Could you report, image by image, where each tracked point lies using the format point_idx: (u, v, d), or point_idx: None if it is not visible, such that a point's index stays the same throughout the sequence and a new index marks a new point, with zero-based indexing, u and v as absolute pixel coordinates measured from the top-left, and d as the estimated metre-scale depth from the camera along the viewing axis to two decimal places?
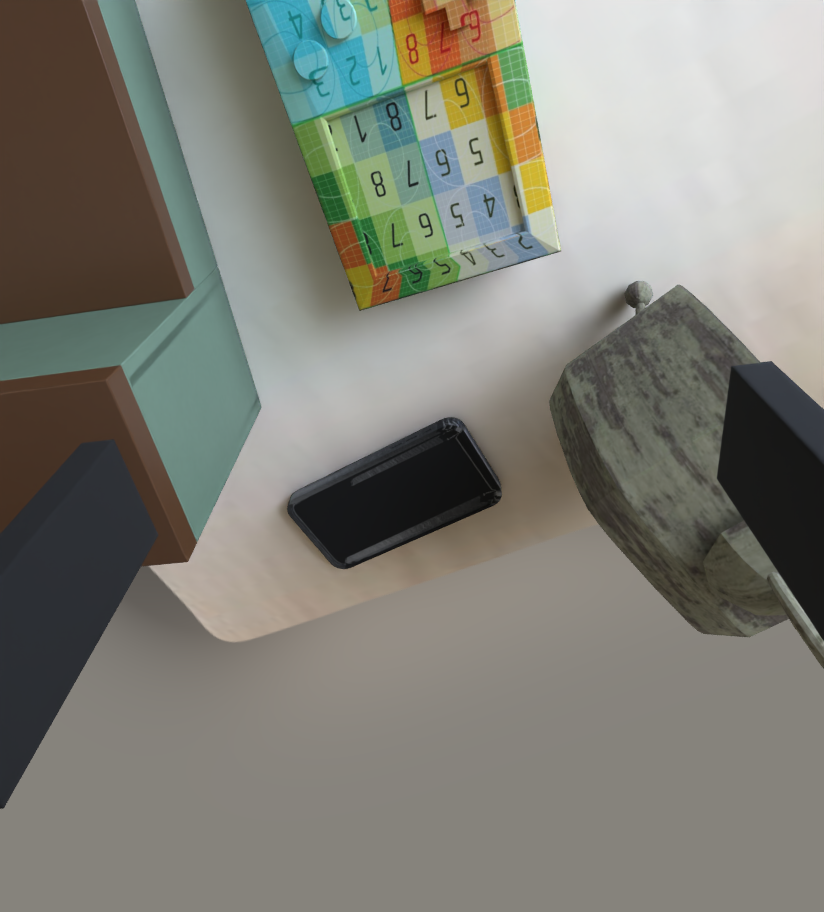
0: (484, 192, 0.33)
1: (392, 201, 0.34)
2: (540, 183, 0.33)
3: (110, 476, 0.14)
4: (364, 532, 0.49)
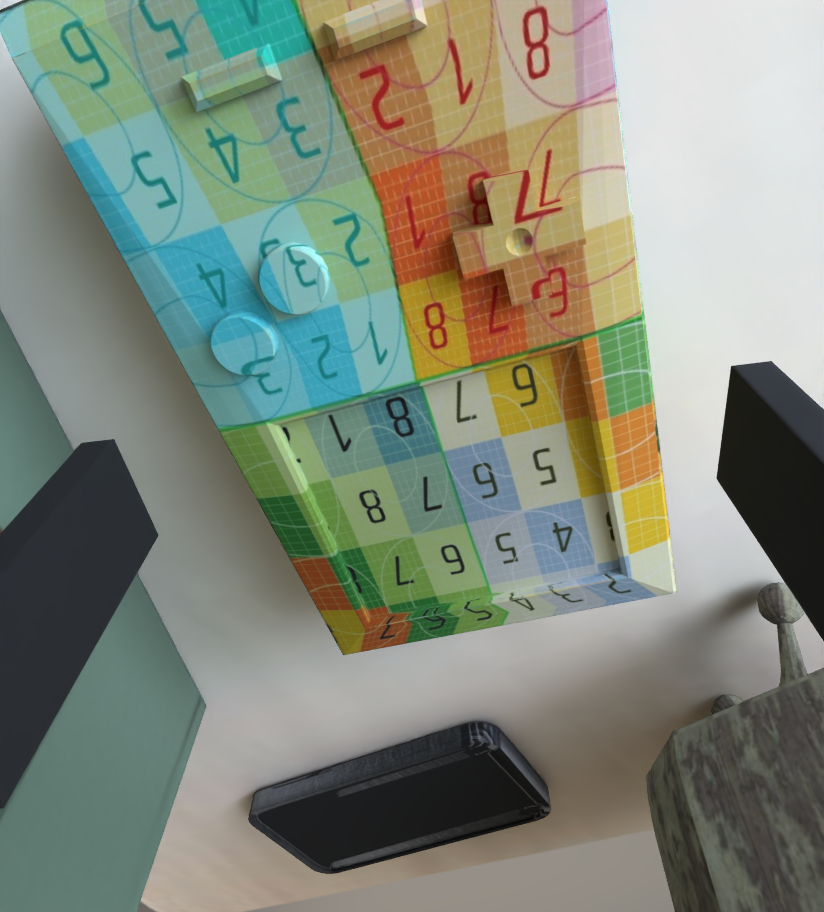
0: (555, 519, 0.19)
1: (396, 529, 0.20)
2: (654, 512, 0.19)
3: (110, 476, 0.14)
4: (357, 839, 0.35)
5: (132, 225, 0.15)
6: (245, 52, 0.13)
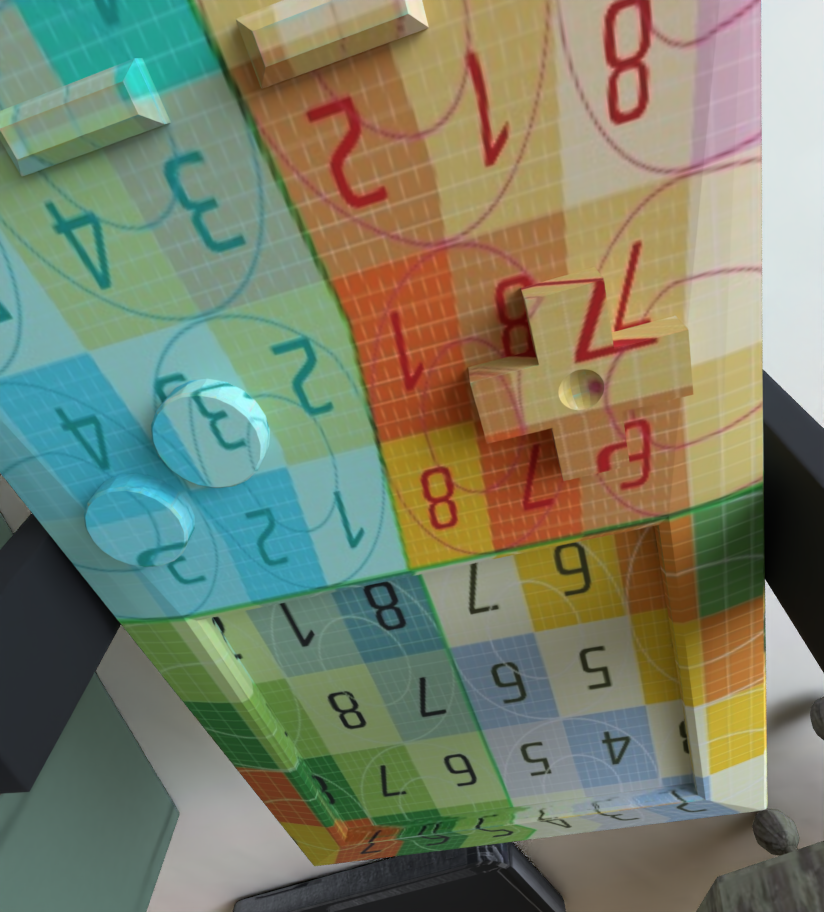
0: (606, 729, 0.14)
1: (382, 736, 0.14)
2: (749, 724, 0.13)
3: None
4: None
5: None
6: (97, 74, 0.07)
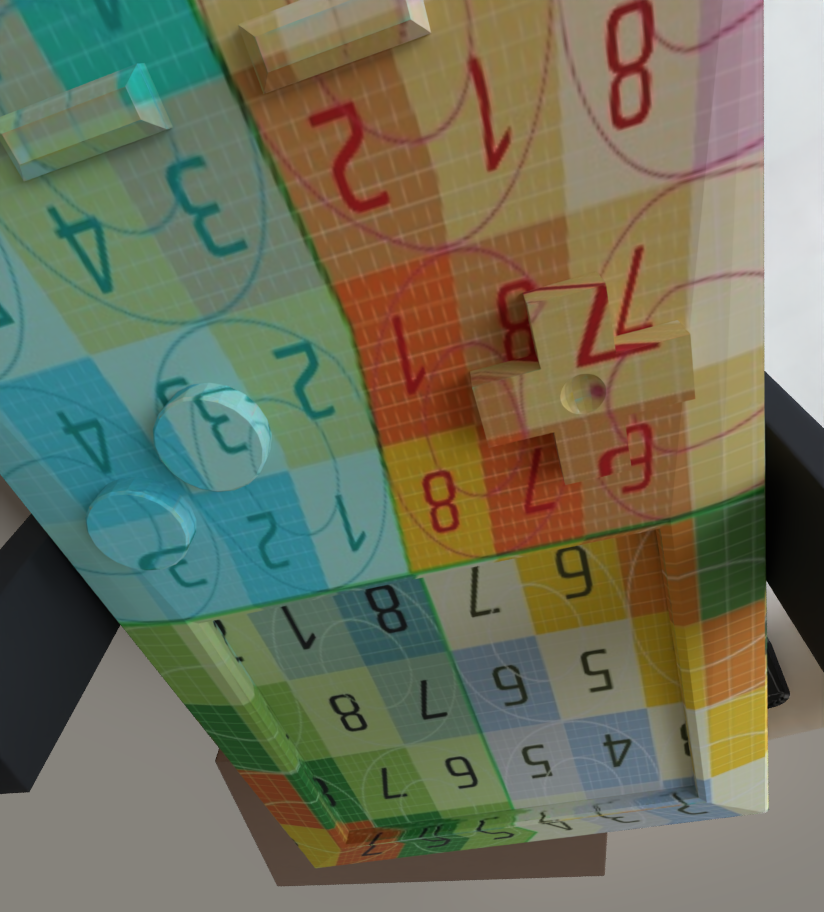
0: (608, 731, 0.14)
1: (383, 738, 0.14)
2: (751, 727, 0.13)
3: None
4: None
5: None
6: (99, 79, 0.07)
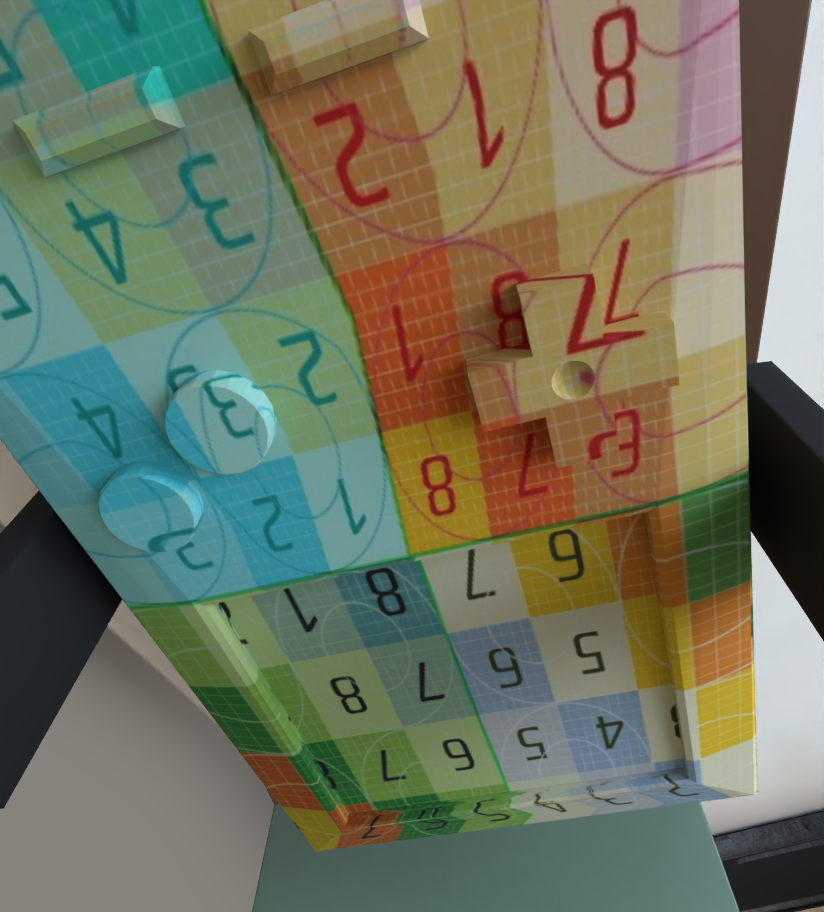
0: (600, 713, 0.14)
1: (382, 720, 0.14)
2: (738, 708, 0.14)
3: None
4: None
5: None
6: (117, 81, 0.07)
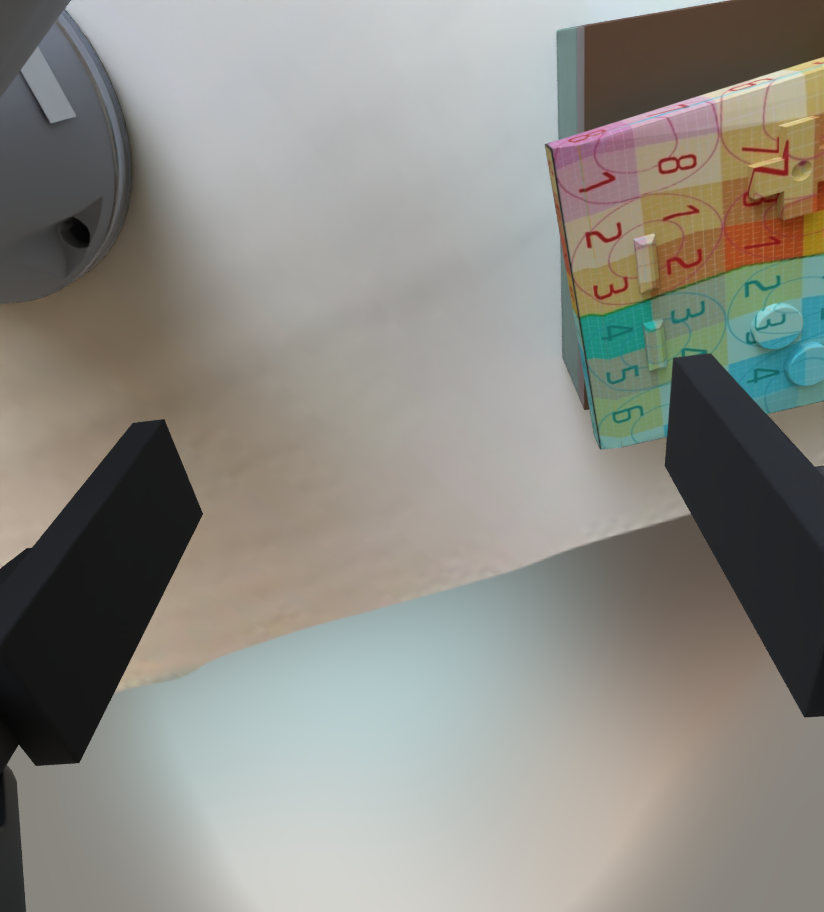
0: None
1: None
2: None
3: (162, 454, 0.14)
4: None
5: None
6: (645, 336, 0.23)
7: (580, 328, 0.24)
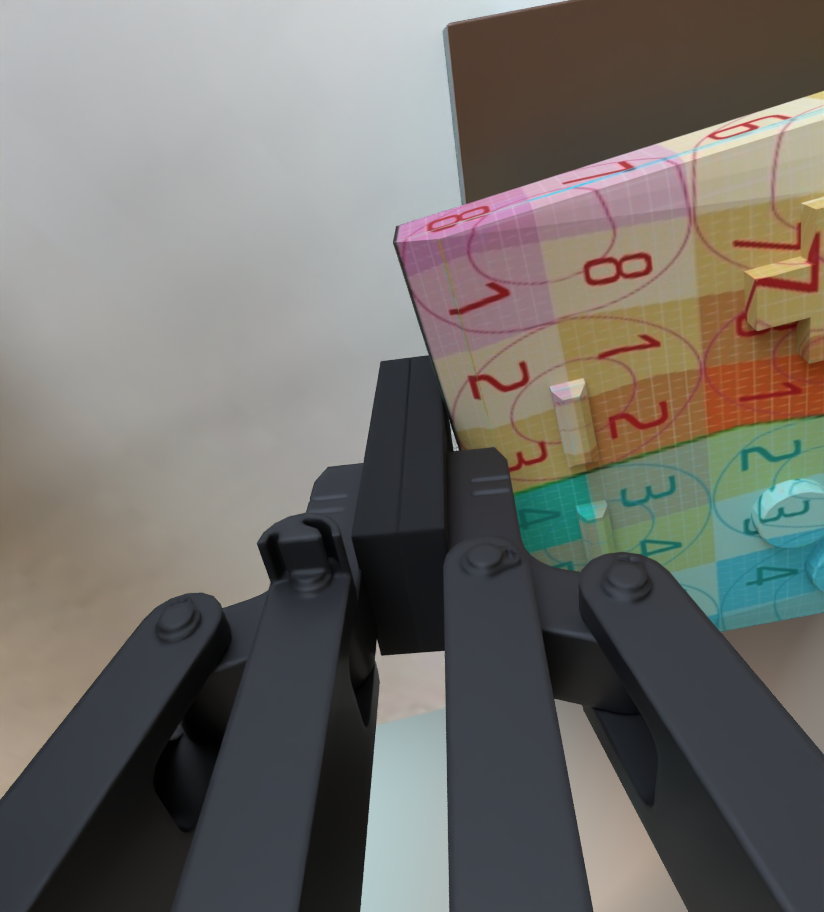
0: None
1: None
2: None
3: None
4: None
5: None
6: (580, 526, 0.14)
7: None
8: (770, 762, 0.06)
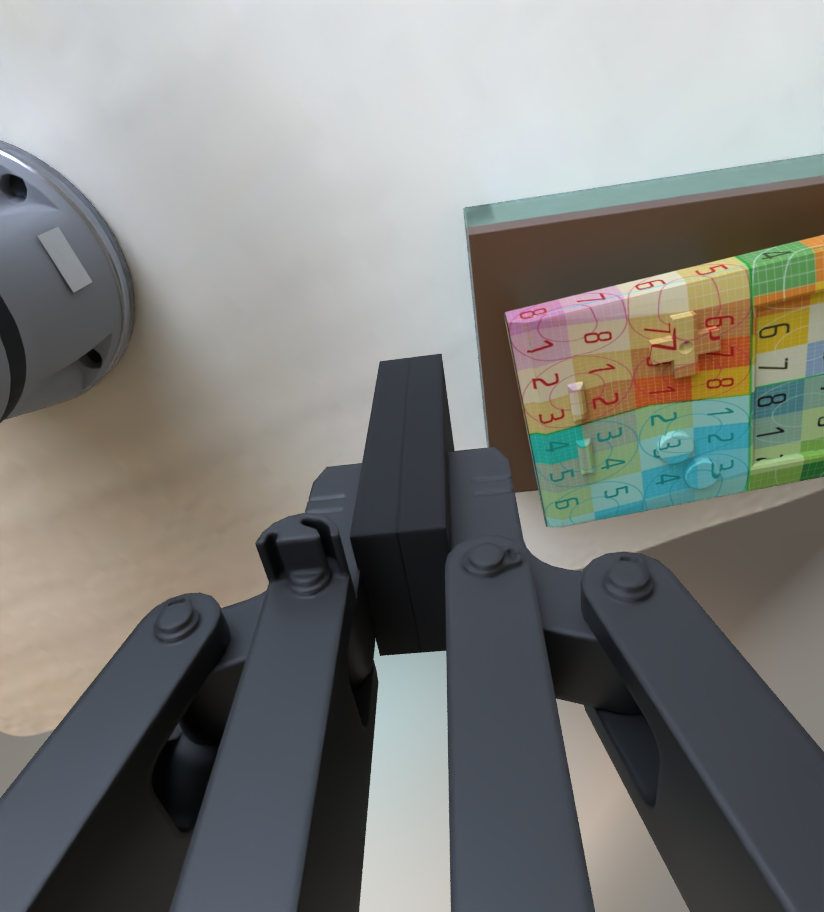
0: None
1: None
2: None
3: None
4: None
5: (632, 504, 0.32)
6: (578, 450, 0.30)
7: (530, 441, 0.31)
8: (772, 762, 0.06)
